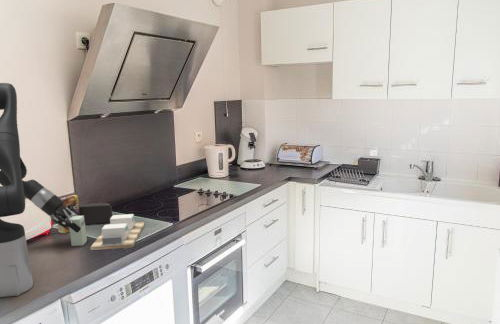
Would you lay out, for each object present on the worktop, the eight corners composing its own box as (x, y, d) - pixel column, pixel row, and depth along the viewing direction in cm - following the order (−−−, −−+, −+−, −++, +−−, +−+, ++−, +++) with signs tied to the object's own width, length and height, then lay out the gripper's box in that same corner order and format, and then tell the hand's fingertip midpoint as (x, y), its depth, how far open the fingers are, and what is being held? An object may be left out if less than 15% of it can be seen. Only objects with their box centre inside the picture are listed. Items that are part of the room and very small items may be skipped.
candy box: (64, 234, 164) (59, 200, 161) (58, 232, 166) (53, 199, 163) (81, 227, 172) (77, 195, 169) (75, 226, 174) (71, 194, 171)
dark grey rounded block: (115, 220, 180) (112, 201, 178) (112, 223, 175) (110, 204, 173) (79, 222, 178) (77, 203, 176) (76, 226, 174) (73, 206, 172)
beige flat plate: (122, 244, 147) (122, 243, 147) (101, 246, 146) (101, 244, 146) (135, 222, 171) (135, 221, 171) (117, 223, 171) (117, 222, 171)
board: (132, 247, 147) (132, 244, 147) (90, 250, 146) (90, 247, 145) (145, 224, 172) (144, 221, 172) (109, 226, 171) (109, 224, 171)
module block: (83, 245, 151) (80, 219, 149) (71, 246, 151) (68, 219, 148) (87, 240, 155) (84, 215, 153) (75, 241, 155) (72, 216, 153)
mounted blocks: (124, 242, 147) (122, 230, 146) (100, 244, 147) (98, 232, 146) (137, 221, 171) (135, 211, 170) (116, 223, 170) (115, 212, 169)
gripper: (45, 199, 141) (81, 227, 145) (60, 189, 155) (93, 215, 159) (32, 214, 142) (69, 241, 145) (49, 203, 156) (82, 228, 159)
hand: (81, 227), depth 152 cm, fingers open, 5 cm apart
